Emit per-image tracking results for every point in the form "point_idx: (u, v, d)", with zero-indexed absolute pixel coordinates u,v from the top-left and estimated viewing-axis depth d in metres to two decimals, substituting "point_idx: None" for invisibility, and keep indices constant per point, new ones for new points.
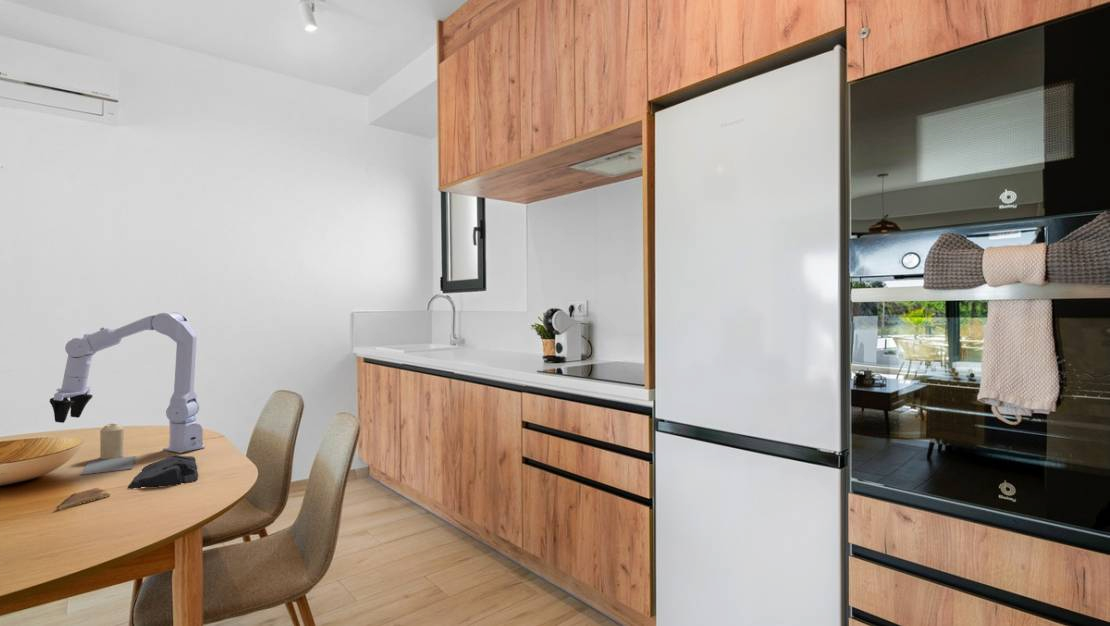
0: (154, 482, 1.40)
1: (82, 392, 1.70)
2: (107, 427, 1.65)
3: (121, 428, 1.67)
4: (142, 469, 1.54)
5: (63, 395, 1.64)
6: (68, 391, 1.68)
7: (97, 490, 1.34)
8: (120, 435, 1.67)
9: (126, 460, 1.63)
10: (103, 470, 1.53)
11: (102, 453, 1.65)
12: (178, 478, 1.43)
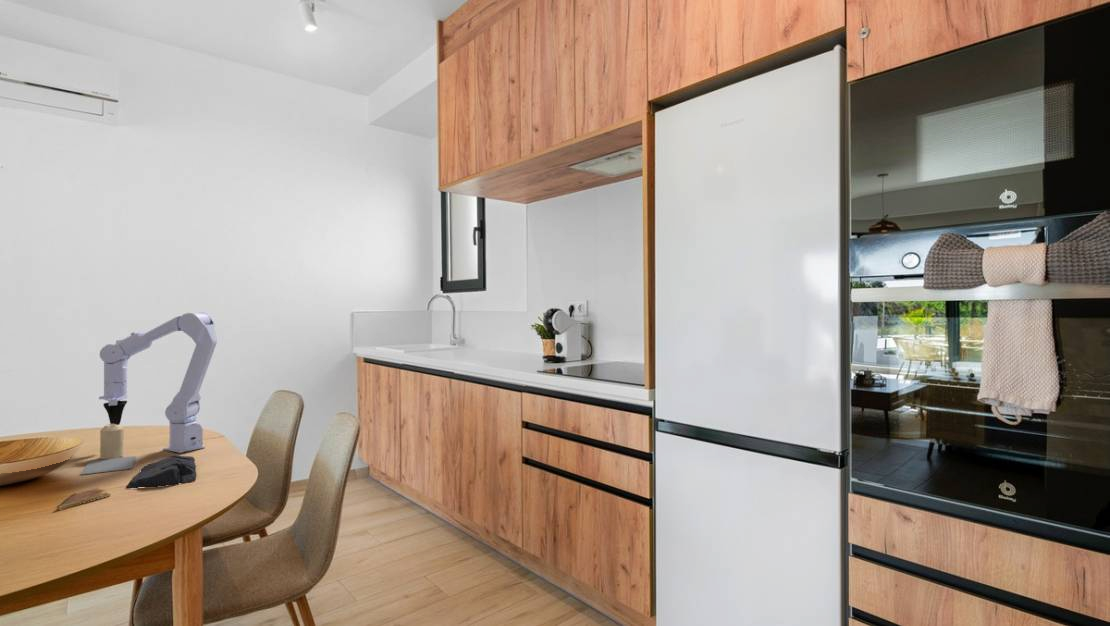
0: (152, 482, 1.40)
1: (126, 396, 1.75)
2: (107, 427, 1.65)
3: (121, 428, 1.67)
4: (141, 469, 1.54)
5: (117, 400, 1.69)
6: (115, 396, 1.72)
7: (97, 490, 1.34)
8: (120, 435, 1.67)
9: (126, 460, 1.63)
10: (103, 470, 1.53)
11: (102, 453, 1.65)
12: (176, 478, 1.43)
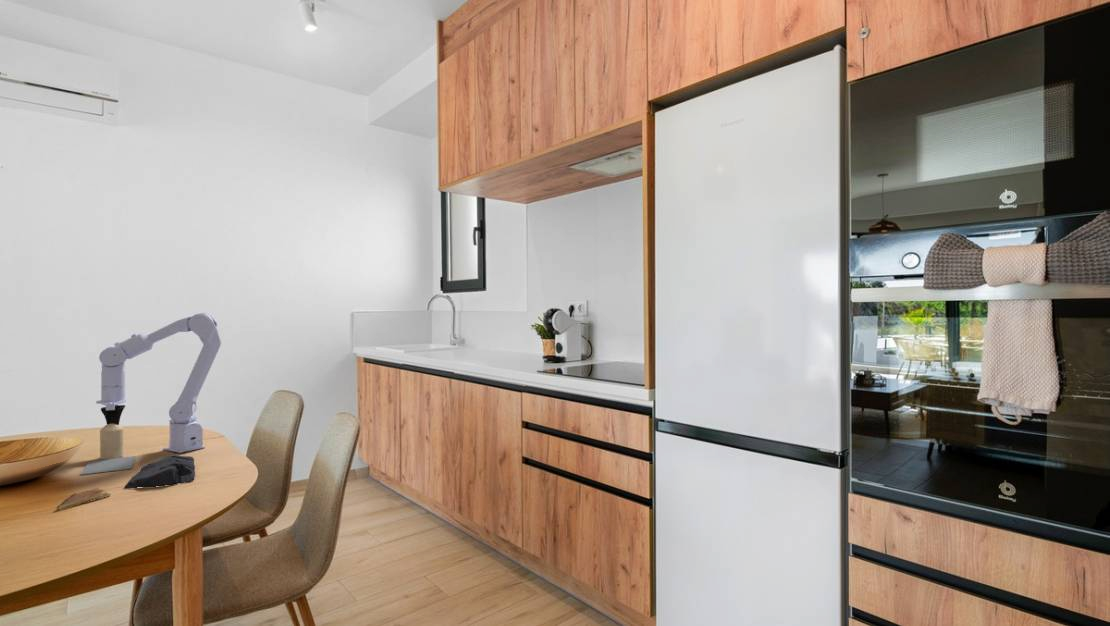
0: (150, 482, 1.40)
1: (124, 400, 1.70)
2: (107, 427, 1.65)
3: (121, 428, 1.67)
4: (141, 469, 1.55)
5: (114, 404, 1.65)
6: (113, 401, 1.67)
7: (97, 490, 1.34)
8: (119, 435, 1.67)
9: (126, 460, 1.63)
10: (103, 470, 1.53)
11: (102, 453, 1.64)
12: (174, 478, 1.43)
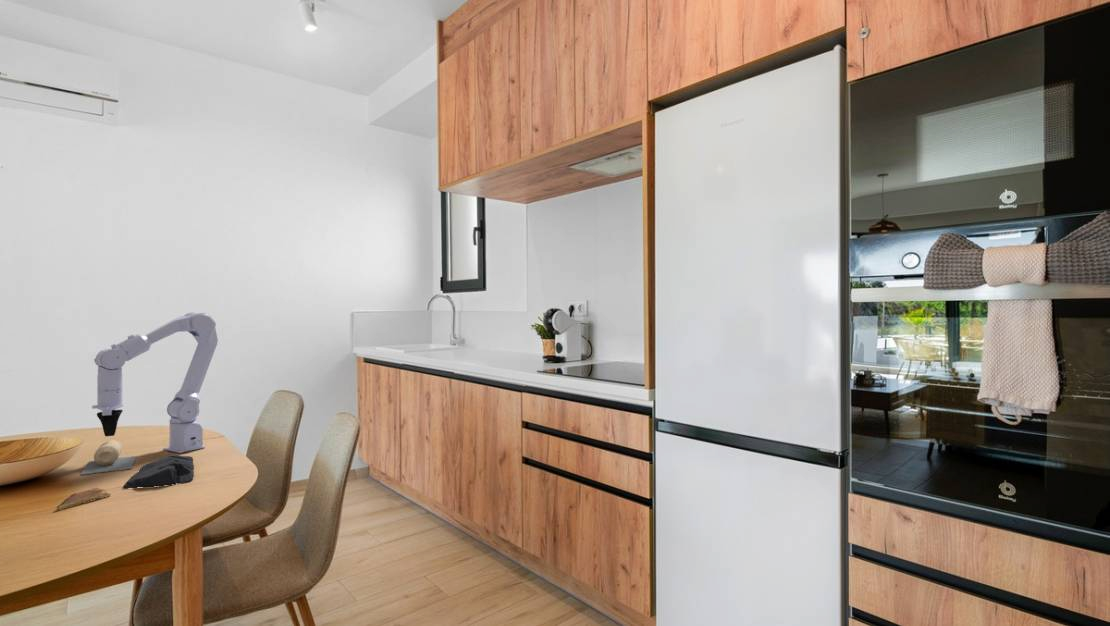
0: (148, 482, 1.40)
1: (122, 404, 1.63)
2: (101, 462, 1.56)
3: (116, 458, 1.59)
4: (140, 469, 1.55)
5: (111, 409, 1.58)
6: (109, 405, 1.60)
7: (97, 490, 1.34)
8: None
9: (126, 460, 1.63)
10: (103, 470, 1.53)
11: None
12: (173, 478, 1.43)
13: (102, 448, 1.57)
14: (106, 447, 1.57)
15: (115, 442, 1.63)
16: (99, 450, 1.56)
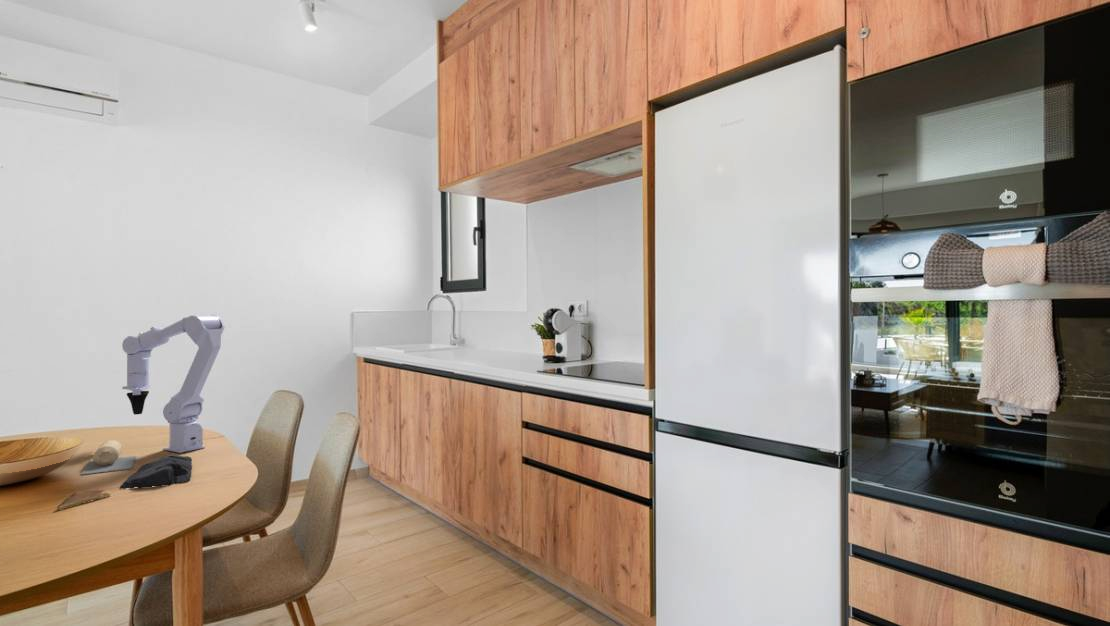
0: (145, 483, 1.40)
1: (148, 386, 1.81)
2: (101, 462, 1.56)
3: (116, 458, 1.59)
4: (139, 469, 1.55)
5: (140, 389, 1.75)
6: (138, 386, 1.78)
7: (97, 490, 1.34)
8: None
9: (126, 460, 1.63)
10: (103, 470, 1.53)
11: None
12: (170, 478, 1.43)
13: (102, 448, 1.57)
14: (106, 447, 1.57)
15: (115, 442, 1.63)
16: (99, 450, 1.56)
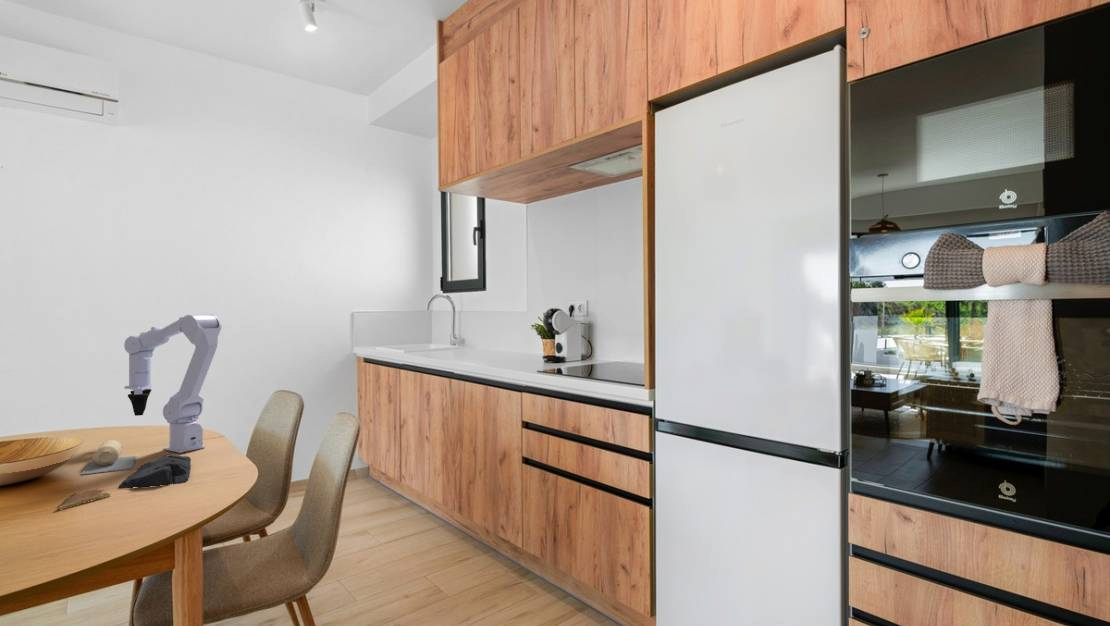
0: (144, 483, 1.40)
1: (150, 385, 1.83)
2: (101, 462, 1.56)
3: (116, 458, 1.59)
4: (138, 468, 1.55)
5: (142, 389, 1.77)
6: (140, 386, 1.79)
7: (97, 490, 1.34)
8: None
9: (126, 460, 1.63)
10: (103, 470, 1.53)
11: None
12: (168, 479, 1.43)
13: (102, 448, 1.57)
14: (106, 447, 1.57)
15: (115, 442, 1.63)
16: (99, 450, 1.56)
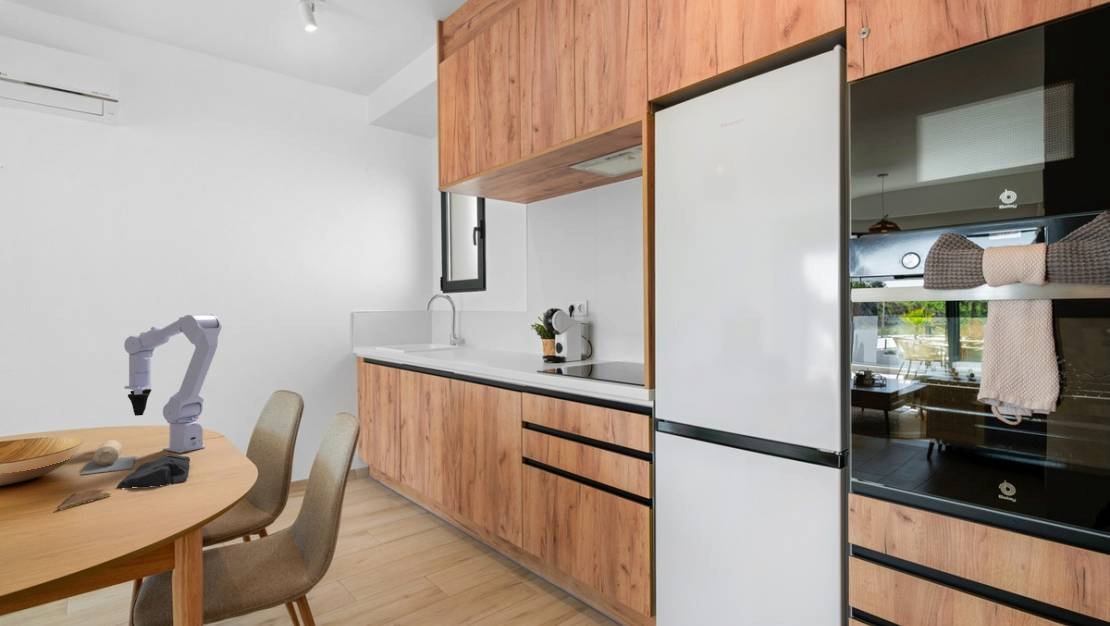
0: (142, 482, 1.40)
1: (150, 385, 1.83)
2: (101, 462, 1.56)
3: (116, 458, 1.59)
4: (137, 468, 1.55)
5: (142, 389, 1.77)
6: (140, 386, 1.79)
7: (97, 490, 1.34)
8: None
9: (126, 460, 1.63)
10: (103, 470, 1.53)
11: None
12: (166, 479, 1.43)
13: (102, 448, 1.57)
14: (106, 447, 1.57)
15: (115, 442, 1.63)
16: (99, 450, 1.56)
